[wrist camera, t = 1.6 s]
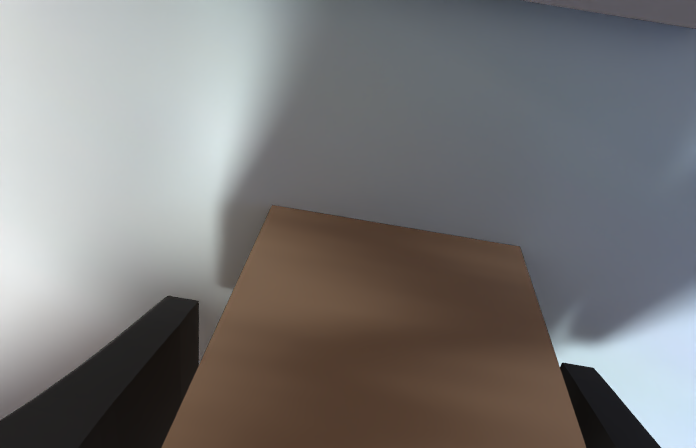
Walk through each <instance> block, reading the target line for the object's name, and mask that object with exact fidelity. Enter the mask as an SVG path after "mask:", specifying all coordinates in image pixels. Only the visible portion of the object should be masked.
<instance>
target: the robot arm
mask: <svg viewBox="0 0 696 448" xmlns="http://www.w3.org/2000/svg"><path fill="white" fill-rule="evenodd" d="M198 366H199V301H196V300H190V299H184V298H178V297H172V296H167V297H166V298H164V299H163V300H161V301H160V302H159V303H158V304H157V305H155V306H154V307H153V308H152V309H151V310H149V311H148V312H147V313H146V314H145V315H143V316H142V317H141V318H140V319H139V320H137V321H136V322H135V323H134V324H133V325H131V326H130V327H129V328H128V329H126V330H125V331H124V332H123V333H121V334H120V335H119V336H118V337H117V338H115V339H114V340H113V341H112V342H110V343H109V344H108V345H106V346H105V347H104V348H103V349H101V350H100V351H99V352H97V353H96V354H95V355H93V356H92V357H91V358H90V359H88V360H87V361H86V362H84V363H83V364H82V365H80V366H79V367H78V368H76V369H75V370H74V371H72V372H71V373H70V374H68V375H67V376H65V377H64V378H62V379H61V380H60V381H58V382H57V383H55V384H54V385H53V386H51V387H50V388H48V389H47V390H45V391H44V392H43V393H41V394H40V395H38V396H37V397H36V398H34V399H33V400H31V401H30V402H28V403H27V404H25V405H24V406H22V407H20V408H19V409H17V410H16V411H14V412H13V413H11V414H10V415H8V416H7V417H5V418H3V419H2V420H0V448H162V445H163V443H164V441H165V439H166V437H167V434H168V432H169V430H170V428H171V426H172V423H173V421H174V419H175V417H176V415H177V412H178V410H179V408H180V406H181V404H182V401H183V399H184V397H185V395H186V393H187V391H188V388H189V386H190V384H191V382H192V380H193V377H194V375H195V373H196V371H197V369H198ZM560 370H561V373H562V376H563V379H564V382H565V385H566V388H567V391H568V394H569V397H570V400H571V403H572V406H573V409H574V412H575V415H576V418H577V421H578V424H579V427H580V430H581V433H582V436H583V439H584V442H585V445H586V448H661V447H660V446H659V445H658V443H657V442H656V441H655V440H654V439H653V438H652V436H651V435H650V434H649V433H648V432H647V430H646V429H645V428H644V427H643V426H642V424H641V423H640V422H639V421H638V420H637V419H636V417H635V416H634V415H633V414H632V413H631V411H630V410H629V409H628V408H627V407H626V405H625V404H624V403H623V402H622V401H621V399H620V398H619V397H618V396H617V395H616V393H615V392H614V391H613V390H612V389H611V387H610V386H609V385H608V384H607V383H606V382H605V380H604V379H603V378H602V377H601V376H600V375H599V374H598V372H597V371H596V370H595V369H594V368H591V367H585V366H579V365H573V364H568V363H562V364H561V367H560Z"/></svg>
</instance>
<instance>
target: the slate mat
mask: <svg viewBox="0 0 696 448" xmlns="http://www.w3.org/2000/svg"><path fill="white" fill-rule="evenodd" d="M522 1H528V2H534V3H540V4H546V5H553V6H559V7H565V8H571V9H577V10H583V11H589V12H596V13H602V14H608V15H614V16H620V17H626V18H633V19H639V20H645V21H651V22H657V23H663V24H670V25H676V26H682V27H688V28H694V29H696V0H522Z"/></svg>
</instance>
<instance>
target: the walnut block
mask: <svg viewBox="0 0 696 448" xmlns="http://www.w3.org/2000/svg"><path fill="white" fill-rule="evenodd" d="M162 448H586V445H585V442H584V439H583V436H582V433H581V430H580V427H579V424H578V421H577V418H576V415H575V412H574V409H573V406H572V403H571V400H570V397H569V394H568V391H567V388H566V385H565V382H564V379H563V376H562V373H561V370H560V367H559V364H558V361H557V358H556V355H555V352H554V349H553V346H552V343H551V339H550V336H549V333H548V330H547V327H546V324H545V321H544V318H543V315H542V312H541V309H540V306H539V303H538V300H537V297H536V294H535V291H534V288H533V285H532V282H531V279H530V276H529V273H528V270H527V267H526V264H525V261H524V258H523V255H522V252H521V249H520V247H519V246H513V245H507V244H501V243H495V242H489V241H483V240H477V239H472V238H466V237H460V236H454V235H448V234H442V233H436V232H430V231H424V230H418V229H412V228H406V227H400V226H394V225H388V224H382V223H376V222H370V221H364V220H358V219H352V218H346V217H340V216H335V215H329V214H323V213H317V212H311V211H305V210H299V209H293V208H287V207H281V206H275V205H272V206H271V208H270V211H269V213H268V215H267V217H266V219H265V222H264V224H263V226H262V228H261V230H260V233H259V235H258V237H257V239H256V241H255V244H254V246H253V248H252V250H251V252H250V254H249V257H248V259H247V261H246V263H245V265H244V268H243V270H242V272H241V274H240V276H239V279H238V281H237V283H236V285H235V287H234V290H233V292H232V294H231V296H230V298H229V301H228V303H227V305H226V307H225V309H224V312H223V314H222V316H221V318H220V320H219V323H218V325H217V327H216V329H215V331H214V333H213V336H212V338H211V340H210V342H209V344H208V347H207V349H206V351H205V353H204V355H203V358H202V360H201V362H200V364H199V366H198V369H197V371H196V373H195V375H194V377H193V380H192V382H191V384H190V386H189V388H188V391H187V393H186V395H185V397H184V399H183V401H182V404H181V406H180V408H179V410H178V412H177V415H176V417H175V419H174V421H173V423H172V426H171V428H170V430H169V432H168V434H167V437H166V439H165V441H164V443H163V445H162Z"/></svg>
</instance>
